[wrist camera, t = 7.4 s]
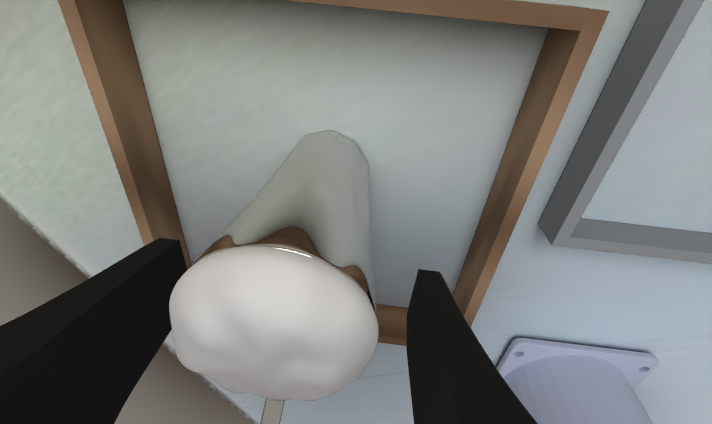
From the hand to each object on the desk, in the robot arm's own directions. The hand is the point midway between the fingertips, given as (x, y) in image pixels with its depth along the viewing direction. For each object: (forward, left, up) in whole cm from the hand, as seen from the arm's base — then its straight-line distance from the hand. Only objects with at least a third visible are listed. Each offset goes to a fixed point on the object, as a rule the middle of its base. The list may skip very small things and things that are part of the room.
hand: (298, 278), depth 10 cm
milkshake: (+1, 0, -6) cm, 6 cm away
